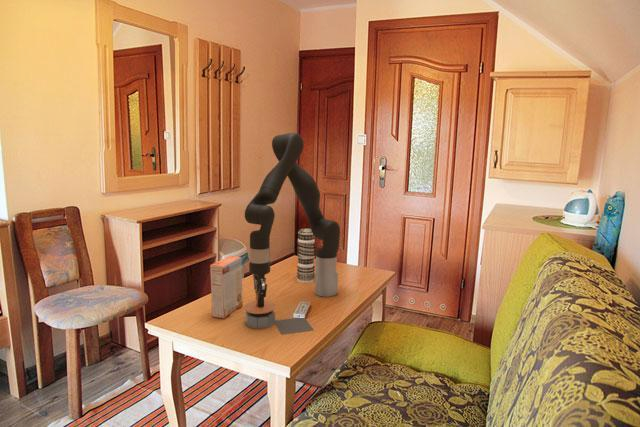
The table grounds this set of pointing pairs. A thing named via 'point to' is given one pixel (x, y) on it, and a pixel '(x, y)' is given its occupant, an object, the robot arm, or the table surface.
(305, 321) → the mat
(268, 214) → the robot arm
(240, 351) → the table surface
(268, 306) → the lid
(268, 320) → the bowl
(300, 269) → the decorative candle
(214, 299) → the cracker box
